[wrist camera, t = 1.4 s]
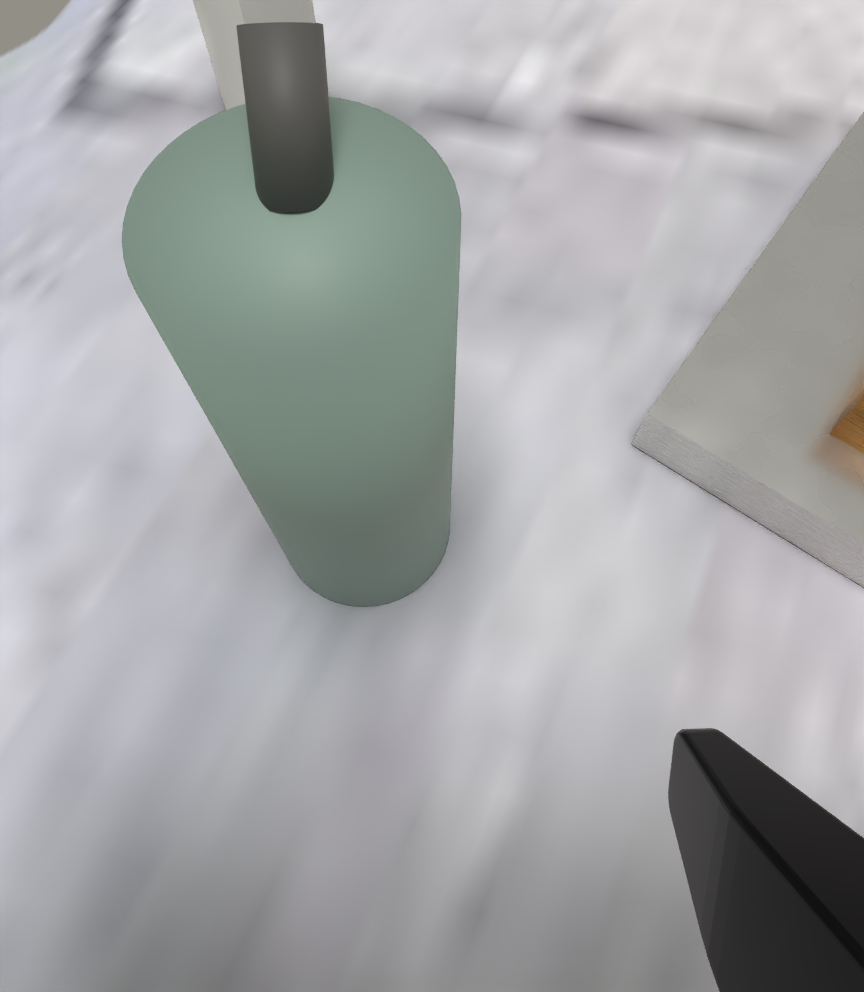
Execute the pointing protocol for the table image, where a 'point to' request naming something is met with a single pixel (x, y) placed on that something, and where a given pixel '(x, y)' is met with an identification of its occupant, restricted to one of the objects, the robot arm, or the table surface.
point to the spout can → (313, 312)
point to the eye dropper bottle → (219, 12)
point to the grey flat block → (785, 380)
